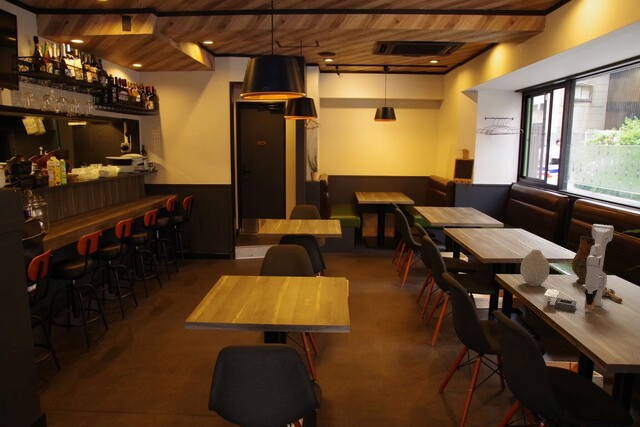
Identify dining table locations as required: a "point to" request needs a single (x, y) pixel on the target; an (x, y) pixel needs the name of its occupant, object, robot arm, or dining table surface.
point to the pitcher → (582, 258)
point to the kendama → (611, 294)
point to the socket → (565, 304)
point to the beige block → (550, 296)
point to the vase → (535, 268)
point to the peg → (589, 305)
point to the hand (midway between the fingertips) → (589, 303)
